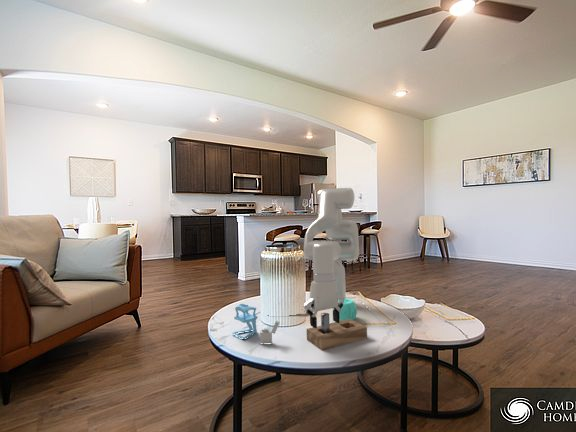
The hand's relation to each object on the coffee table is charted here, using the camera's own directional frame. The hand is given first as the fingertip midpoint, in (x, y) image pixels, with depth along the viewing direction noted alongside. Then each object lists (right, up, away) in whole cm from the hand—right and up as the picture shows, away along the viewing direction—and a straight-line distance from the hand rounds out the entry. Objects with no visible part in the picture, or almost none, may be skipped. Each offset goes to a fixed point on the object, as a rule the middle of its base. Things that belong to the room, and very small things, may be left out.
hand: (325, 324), depth 108 cm
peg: (0, -6, 0) cm, 6 cm away
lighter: (-20, -7, 0) cm, 21 cm away
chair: (-30, -7, +9) cm, 32 cm away
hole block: (+5, -6, +2) cm, 8 cm away
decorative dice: (+11, -6, +22) cm, 26 cm away
